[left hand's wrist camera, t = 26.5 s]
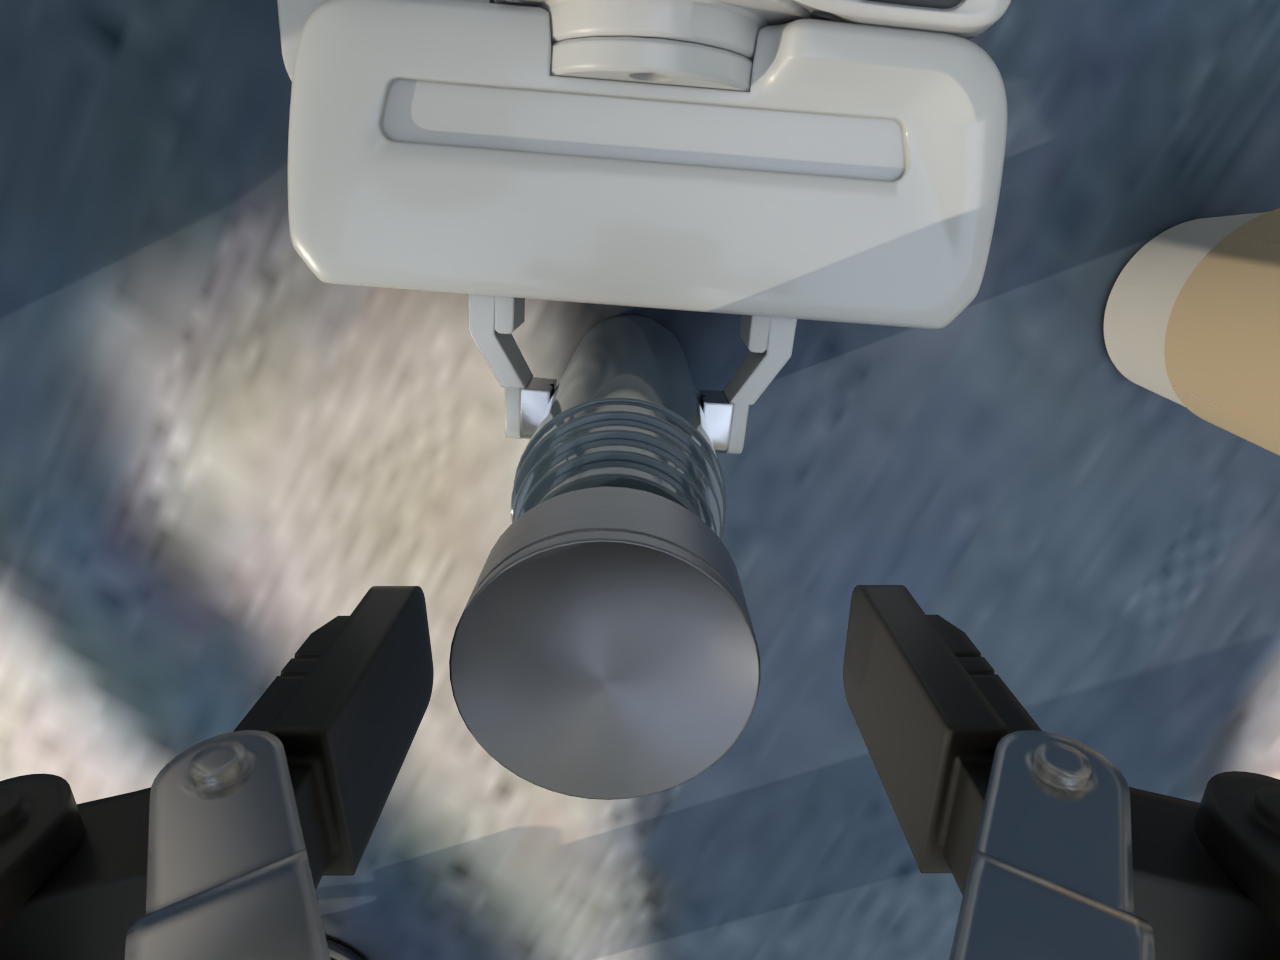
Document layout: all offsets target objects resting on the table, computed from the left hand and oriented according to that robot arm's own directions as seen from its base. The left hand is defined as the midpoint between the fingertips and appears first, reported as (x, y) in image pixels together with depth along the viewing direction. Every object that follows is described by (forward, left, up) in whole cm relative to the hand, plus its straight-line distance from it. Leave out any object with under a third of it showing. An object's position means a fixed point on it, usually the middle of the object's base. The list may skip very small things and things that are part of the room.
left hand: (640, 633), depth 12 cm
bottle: (0, 0, -19) cm, 19 cm away
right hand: (0, -1, -13) cm, 13 cm away
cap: (0, 0, +1) cm, 1 cm away
